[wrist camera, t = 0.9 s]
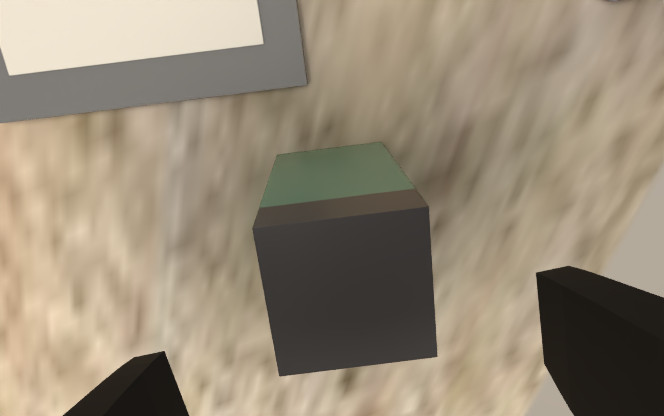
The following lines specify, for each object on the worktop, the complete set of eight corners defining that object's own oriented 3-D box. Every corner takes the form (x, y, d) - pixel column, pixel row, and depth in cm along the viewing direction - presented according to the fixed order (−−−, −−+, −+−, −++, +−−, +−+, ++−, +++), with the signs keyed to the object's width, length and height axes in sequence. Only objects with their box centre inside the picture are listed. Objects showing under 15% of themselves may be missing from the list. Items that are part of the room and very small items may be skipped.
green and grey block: (381, 141, 19) (428, 206, 11) (389, 238, 20) (437, 356, 12) (277, 154, 19) (252, 228, 11) (292, 250, 20) (279, 376, 12)
